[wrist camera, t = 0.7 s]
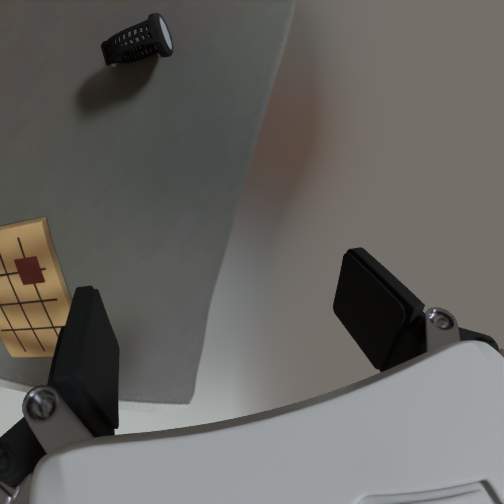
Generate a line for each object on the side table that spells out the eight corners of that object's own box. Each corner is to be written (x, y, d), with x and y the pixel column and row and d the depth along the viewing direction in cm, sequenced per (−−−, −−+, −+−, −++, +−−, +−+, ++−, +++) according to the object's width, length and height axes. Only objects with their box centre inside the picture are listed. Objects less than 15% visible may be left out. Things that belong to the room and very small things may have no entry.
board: (-39, 236, 18) (-45, 242, 17) (45, 216, 21) (40, 222, 20) (14, 350, 26) (12, 358, 25) (92, 347, 29) (91, 355, 28)
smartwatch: (170, 70, 19) (171, 60, 15) (106, 71, 17) (91, 63, 13) (177, 24, 17) (181, 4, 13) (114, 25, 15) (102, 6, 11)
